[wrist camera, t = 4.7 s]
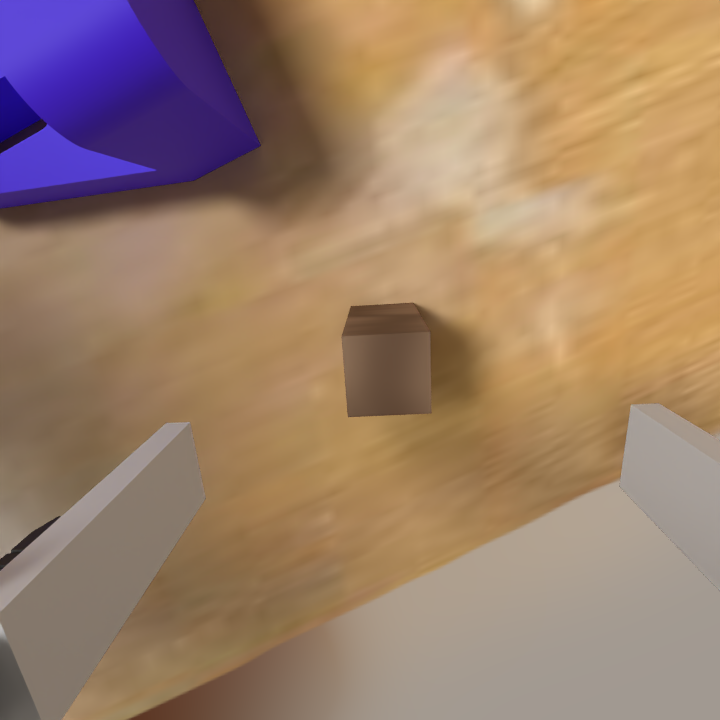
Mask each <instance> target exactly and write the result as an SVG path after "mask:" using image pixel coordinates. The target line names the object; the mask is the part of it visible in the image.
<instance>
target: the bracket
mask: <svg viewBox="0 0 720 720" xmlns="http://www.w3.org/2000/svg"><path fill="white" fill-rule="evenodd" d="M40 119H43V120H44V121H45V122H46V123H47V125H46V127H45V128H43V129H42V130H41V131H39V132H37V133H35V134H34V135H32V136H30V137H28V138H27V139H25V140H23V141H21V142H20V143H18V144H16V145H14V146H13V147H11V148H9V149H8V150H6V151H4V152H2V153H1V154H0V209H1V208H8V207H14V206H21V205H28V204H35V203H42V202H49V201H56V200H63V199H70V198H77V197H84V196H91V195H98V194H105V193H112V192H119V191H126V190H132V189H139V188H146V187H153V186H160V185H167V184H174V183H181V182H188V181H194V180H196V179H198V178H200V177H201V176H203V175H205V174H207V173H209V172H211V171H213V170H215V169H217V168H219V167H221V166H223V165H225V164H227V163H228V162H230V161H232V160H234V159H236V158H238V157H240V156H242V155H244V154H246V153H248V152H250V151H252V150H254V149H255V148H257V147H259V146H261V145H260V143H259V141H258V138H257V136H256V134H255V132H254V130H253V128H252V125H251V123H250V121H249V119H248V117H247V115H246V112H245V110H244V108H243V106H242V104H241V102H240V99H239V97H238V95H237V93H236V91H235V89H234V86H233V84H232V82H231V80H230V78H229V76H228V73H227V71H226V69H225V67H224V65H223V63H222V60H221V58H220V56H219V54H218V52H217V50H216V47H215V45H214V43H213V41H212V39H211V37H210V34H209V32H208V30H207V28H206V26H205V24H204V21H203V19H202V17H201V15H200V13H199V11H198V8H197V6H196V4H195V2H194V0H0V143H1V142H3V141H4V140H6V139H8V138H10V137H11V136H13V135H15V134H16V133H18V132H20V131H22V130H23V129H25V128H27V127H28V126H30V125H32V124H34V123H35V122H37V121H39V120H40Z"/></svg>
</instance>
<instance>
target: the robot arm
mask: <svg viewBox="0 0 720 720" xmlns="http://www.w3.org/2000/svg"><path fill="white" fill-rule="evenodd" d="M619 487H620V488H621V489H622V490H623V491H624V492H625V493H626V494H627V495H628V496H629V497H630V498H631V499H632V500H633V501H634V502H635V504H636V505H637V506H638V507H639V508H640V509H641V510H642V511H643V512H644V513H645V514H646V515H647V516H648V517H649V518H650V519H651V520H652V521H653V522H654V523H655V524H656V525H657V526H658V527H659V529H661V531H662V532H663V533H664V534H665V535H666V536H667V537H668V538H669V539H670V540H671V541H672V542H673V543H674V544H675V545H676V546H677V547H678V548H679V549H680V550H681V551H682V552H683V553H684V554H685V556H686V557H688V559H689V560H690V561H691V562H692V563H693V564H694V565H695V566H696V567H697V568H698V569H699V570H700V571H701V572H702V573H703V574H704V575H705V576H706V577H707V578H708V580H710V582H711V583H712V584H713V585H714V586H715V587H716V588H717V589H718V590H719V591H720V440H719V439H717V438H716V437H714V436H712V435H711V434H709V433H707V432H706V431H704V430H702V429H701V428H699V427H697V426H696V425H694V424H692V423H691V422H689V421H687V420H685V419H684V418H682V417H680V416H679V415H677V414H675V413H674V412H672V411H670V410H669V409H667V408H665V407H664V406H662V405H660V404H659V403H656V404H631V409H630V416H629V422H628V429H627V436H626V443H625V450H624V457H623V464H622V471H621V478H620V485H619ZM205 499H206V497H205V492H204V487H203V483H202V478H201V473H200V468H199V463H198V458H197V453H196V448H195V443H194V438H193V433H192V429H191V424H190V422H180V423H166V424H164V425H163V426H162V427H161V428H160V429H159V430H158V431H157V432H156V433H154V434H153V435H152V436H151V437H150V438H149V439H148V440H147V441H145V442H144V443H143V444H142V445H141V446H140V447H139V448H138V449H136V450H135V451H134V452H133V453H132V454H131V455H130V456H129V457H127V458H126V459H125V460H124V461H123V462H122V463H121V464H120V465H118V466H117V467H116V468H115V469H114V470H113V471H112V472H111V473H109V474H108V475H107V476H106V477H105V478H104V479H103V480H102V481H100V482H99V483H98V484H97V485H96V486H95V487H94V488H93V489H91V490H90V491H89V492H88V493H87V494H86V495H85V496H84V497H83V498H81V499H80V500H79V501H78V502H77V503H76V504H75V505H74V506H72V507H71V508H70V509H69V510H68V511H67V512H66V513H65V514H63V515H62V516H58V517H57V518H55V519H53V520H51V521H50V522H48V523H46V524H45V525H43V526H41V527H40V528H38V529H36V530H35V531H33V532H32V533H30V534H29V535H28V536H27V537H26V538H25V539H23V540H22V541H21V542H20V543H19V544H18V545H17V546H15V547H14V548H13V549H12V550H11V553H10V554H6V555H5V556H4V557H3V558H1V559H0V720H62V718H63V717H64V715H65V714H66V712H67V711H68V709H69V708H70V706H71V705H72V703H73V702H74V700H75V698H76V697H77V695H78V694H79V692H80V691H81V689H82V688H83V686H84V685H85V683H86V682H87V680H88V679H89V677H90V675H91V674H92V672H93V671H94V669H95V668H96V666H97V665H98V663H99V662H100V660H101V659H102V657H103V655H104V654H105V652H106V651H107V649H108V648H109V646H110V645H111V643H112V642H113V640H114V639H115V637H116V636H117V634H118V632H119V631H120V629H121V628H122V626H123V625H124V623H125V622H126V620H127V619H128V617H129V616H130V614H131V612H132V611H133V609H134V608H135V606H136V605H137V603H138V602H139V600H140V599H141V597H142V596H143V594H144V593H145V591H146V589H147V588H148V586H149V585H150V583H151V582H152V580H153V579H154V577H155V576H156V574H157V573H158V571H159V569H160V568H161V566H162V565H163V563H164V562H165V560H166V559H167V557H168V556H169V554H170V553H171V551H172V550H173V548H174V546H175V545H176V543H177V542H178V540H179V539H180V537H181V536H182V534H183V533H184V531H185V530H186V528H187V526H188V525H189V523H190V522H191V520H192V519H193V517H194V516H195V514H196V513H197V511H198V510H199V508H200V507H201V505H202V503H203V502H204V500H205Z"/></svg>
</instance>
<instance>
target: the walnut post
mask: <svg viewBox="0 0 720 720" xmlns="http://www.w3.org/2000/svg"><path fill="white" fill-rule="evenodd" d="M342 348H343V360H344V373H345V386H346V399H347V411H348V417H360V416H383V415H406V414H428V413H431V335H430V330H429V328H428V327H427V325H426V323H425V322H424V320H423V318H422V316H421V315H420V313H419V311H418V310H417V308H416V306H415V304H414V303H401V304H384V305H366V306H351V308H350V311H349V314H348V318H347V321H346V324H345V327H344V330H343V334H342Z"/></svg>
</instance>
